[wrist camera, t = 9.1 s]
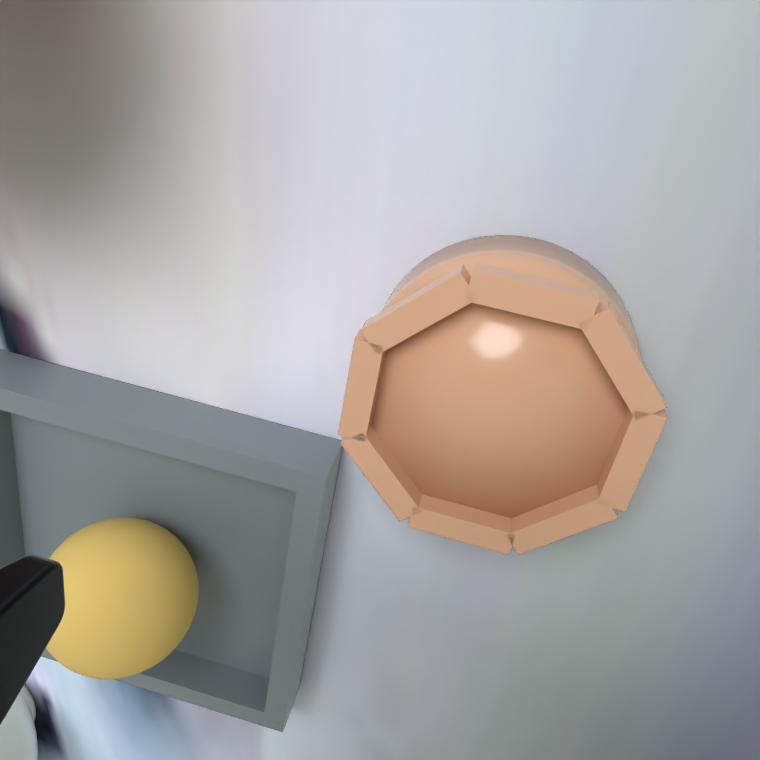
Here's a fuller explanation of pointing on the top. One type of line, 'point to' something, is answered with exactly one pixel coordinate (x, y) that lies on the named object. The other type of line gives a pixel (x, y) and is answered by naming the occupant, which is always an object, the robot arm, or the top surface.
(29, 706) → the lidded jar
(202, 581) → the tray
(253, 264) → the top surface
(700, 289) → the top surface
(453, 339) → the bowl
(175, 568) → the ball
